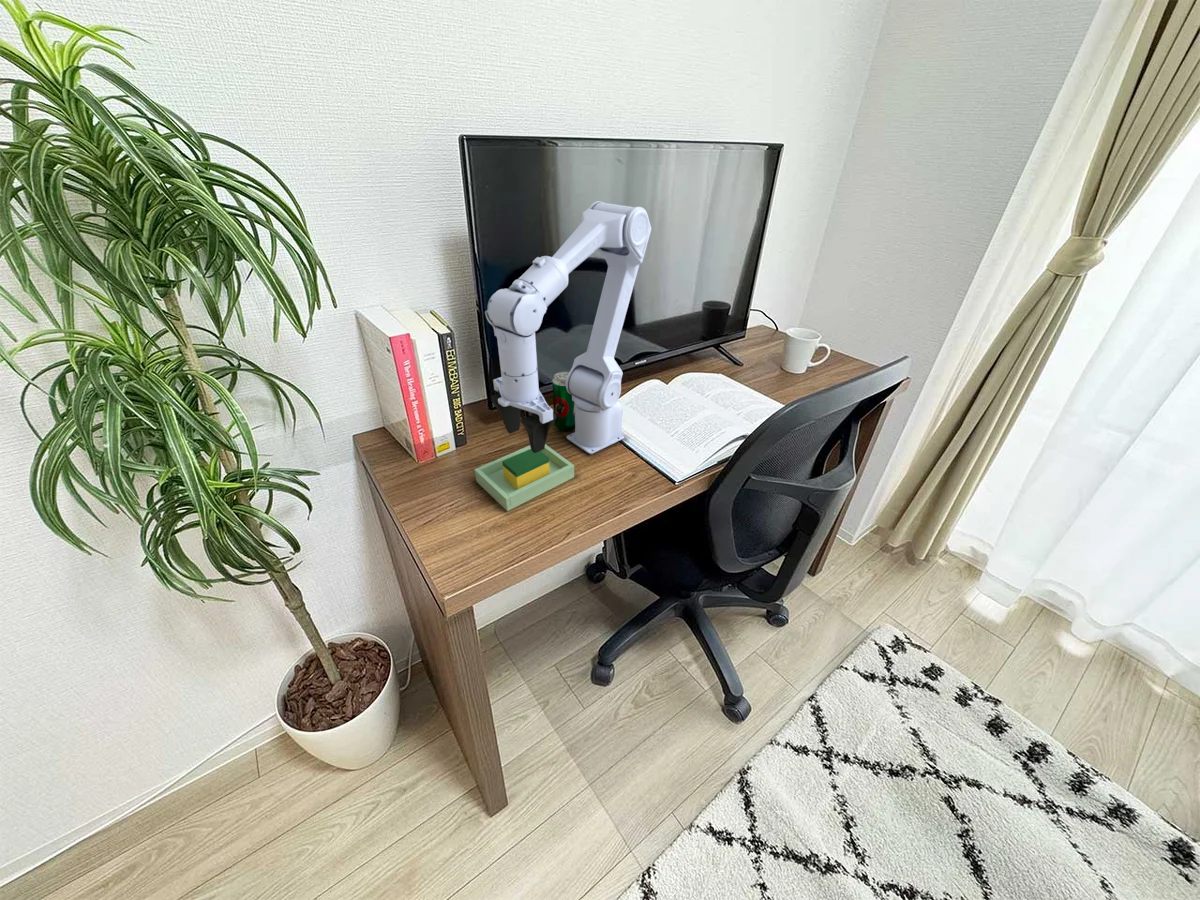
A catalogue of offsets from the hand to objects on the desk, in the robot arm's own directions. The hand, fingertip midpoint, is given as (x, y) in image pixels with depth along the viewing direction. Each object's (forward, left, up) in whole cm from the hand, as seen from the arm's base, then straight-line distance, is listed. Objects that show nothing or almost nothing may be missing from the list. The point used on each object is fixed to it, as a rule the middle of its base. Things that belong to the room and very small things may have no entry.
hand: (525, 440), depth 82 cm
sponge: (0, 0, -8) cm, 8 cm away
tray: (0, -1, -9) cm, 9 cm away
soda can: (-17, -11, -9) cm, 22 cm away
